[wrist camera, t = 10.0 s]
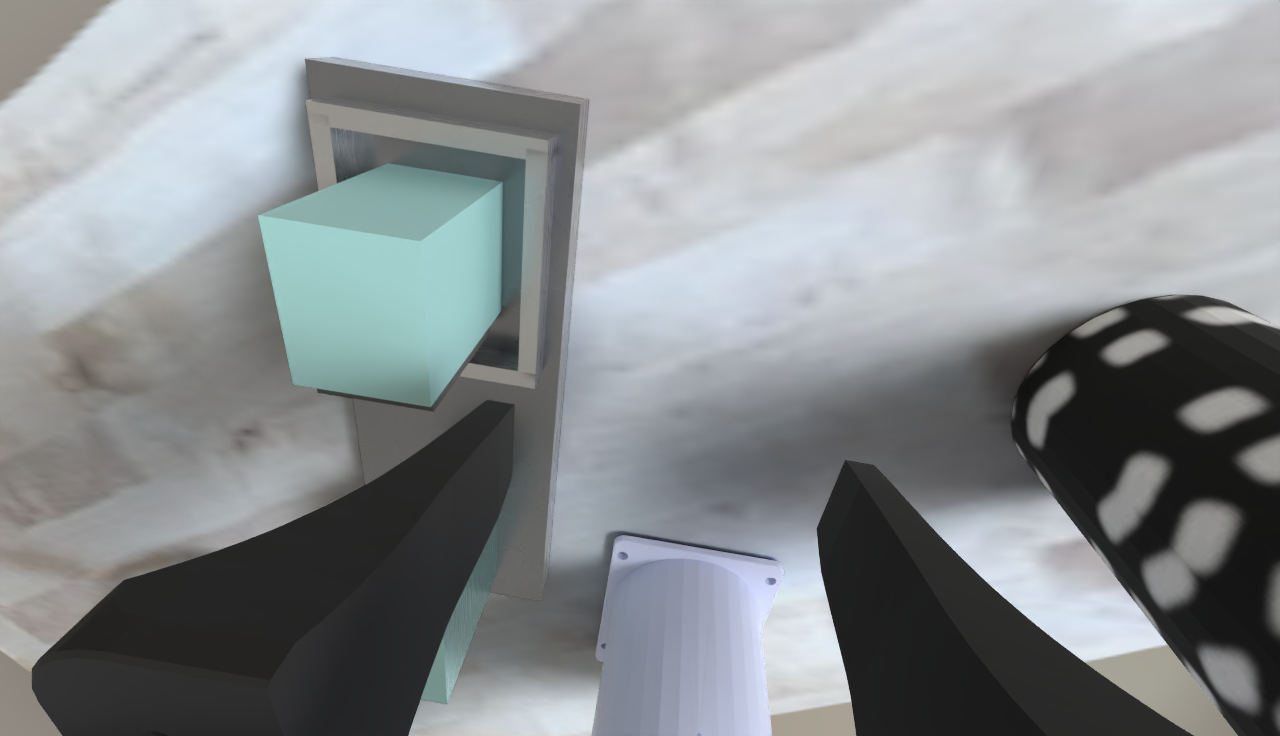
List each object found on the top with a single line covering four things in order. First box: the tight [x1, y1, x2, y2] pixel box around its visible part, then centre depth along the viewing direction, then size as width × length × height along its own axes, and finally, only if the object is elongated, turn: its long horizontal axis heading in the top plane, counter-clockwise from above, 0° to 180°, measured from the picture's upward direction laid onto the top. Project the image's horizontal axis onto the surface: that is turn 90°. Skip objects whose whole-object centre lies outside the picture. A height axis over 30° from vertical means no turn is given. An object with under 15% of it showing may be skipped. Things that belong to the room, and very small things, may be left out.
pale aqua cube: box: [258, 163, 503, 412], centre depth 16 cm, size 5×4×6 cm
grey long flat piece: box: [305, 57, 589, 704], centre depth 20 cm, size 22×8×8 cm, turn 172°
